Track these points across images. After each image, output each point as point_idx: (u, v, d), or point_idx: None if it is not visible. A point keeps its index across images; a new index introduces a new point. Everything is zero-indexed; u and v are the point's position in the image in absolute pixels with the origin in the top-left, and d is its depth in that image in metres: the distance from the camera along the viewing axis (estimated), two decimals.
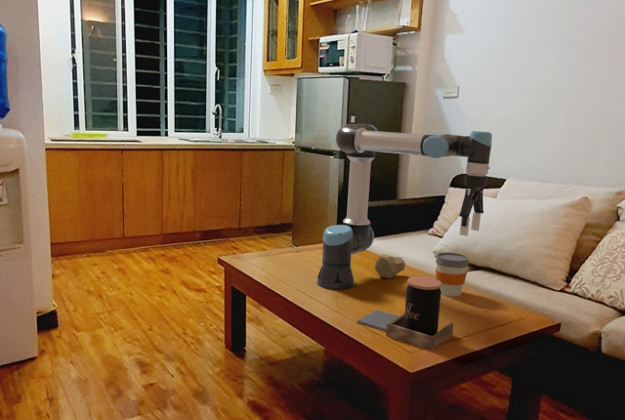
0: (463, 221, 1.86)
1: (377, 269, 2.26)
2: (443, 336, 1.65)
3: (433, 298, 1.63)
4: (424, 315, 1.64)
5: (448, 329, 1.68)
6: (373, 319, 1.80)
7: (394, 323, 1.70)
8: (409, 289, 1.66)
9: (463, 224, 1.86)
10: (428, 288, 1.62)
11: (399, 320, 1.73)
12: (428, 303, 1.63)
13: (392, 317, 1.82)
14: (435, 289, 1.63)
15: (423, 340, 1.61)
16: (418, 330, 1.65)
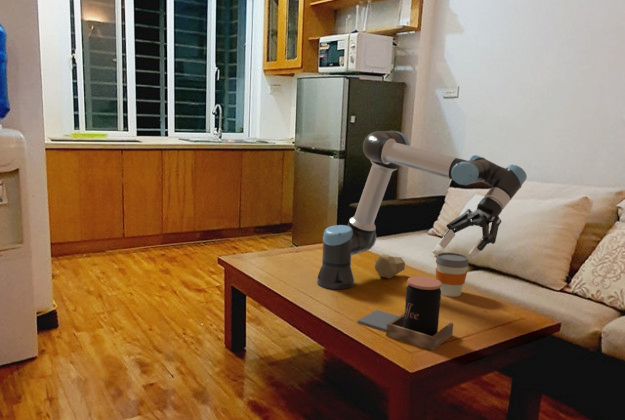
0: (483, 245, 1.68)
1: (377, 269, 2.26)
2: (443, 336, 1.65)
3: (433, 298, 1.63)
4: (424, 315, 1.64)
5: (448, 329, 1.68)
6: (373, 319, 1.80)
7: (394, 323, 1.70)
8: (409, 289, 1.66)
9: (481, 247, 1.68)
10: (428, 288, 1.62)
11: (399, 320, 1.73)
12: (428, 303, 1.63)
13: (392, 317, 1.82)
14: (435, 289, 1.63)
15: (423, 340, 1.61)
16: (418, 330, 1.65)
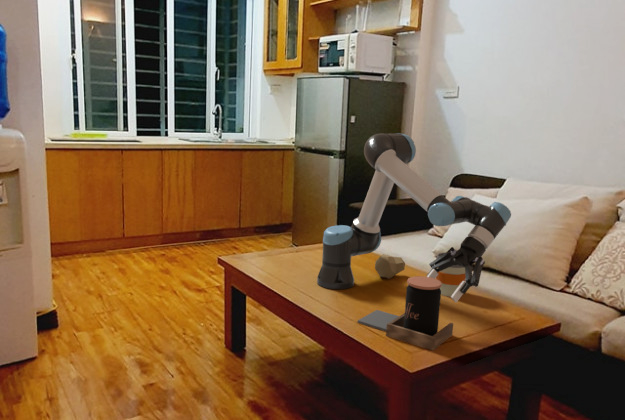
0: (466, 288, 1.63)
1: (377, 269, 2.26)
2: (443, 336, 1.65)
3: (433, 298, 1.63)
4: (424, 315, 1.64)
5: (448, 329, 1.68)
6: (373, 319, 1.80)
7: (394, 323, 1.70)
8: (409, 289, 1.66)
9: (464, 291, 1.63)
10: (428, 288, 1.62)
11: (399, 320, 1.73)
12: (428, 303, 1.63)
13: (392, 317, 1.82)
14: (435, 289, 1.63)
15: (423, 340, 1.61)
16: (418, 330, 1.65)
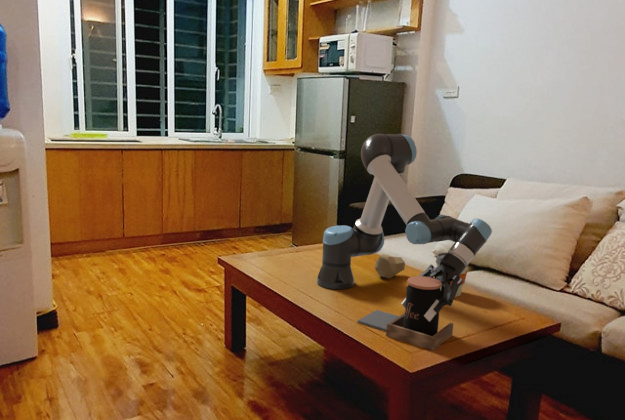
0: (440, 307, 1.62)
1: (377, 269, 2.26)
2: (443, 336, 1.65)
3: (433, 298, 1.63)
4: None
5: (448, 329, 1.68)
6: (373, 319, 1.80)
7: (394, 323, 1.70)
8: (409, 289, 1.66)
9: (438, 310, 1.62)
10: (428, 288, 1.62)
11: (399, 320, 1.73)
12: (428, 303, 1.63)
13: (392, 317, 1.82)
14: (435, 289, 1.63)
15: (423, 340, 1.61)
16: (418, 330, 1.65)
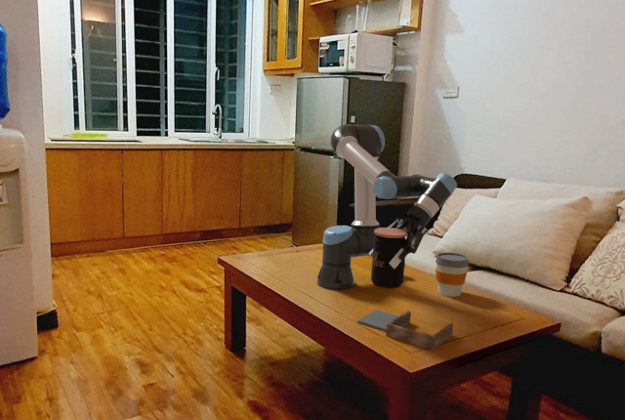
0: (404, 255, 1.69)
1: None
2: (443, 336, 1.65)
3: (398, 246, 1.70)
4: None
5: (448, 329, 1.68)
6: (373, 319, 1.80)
7: (394, 323, 1.70)
8: (375, 238, 1.73)
9: (402, 257, 1.69)
10: (393, 236, 1.69)
11: (399, 320, 1.73)
12: (393, 251, 1.70)
13: (392, 317, 1.82)
14: (400, 238, 1.70)
15: (423, 340, 1.61)
16: (384, 277, 1.72)
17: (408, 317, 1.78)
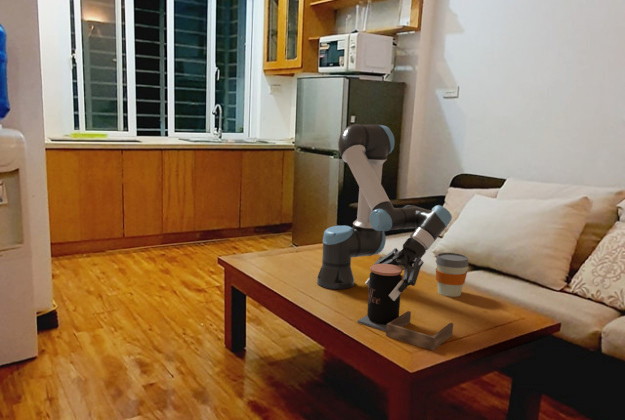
0: (404, 287, 1.71)
1: None
2: (443, 336, 1.65)
3: (393, 284, 1.73)
4: (385, 299, 1.73)
5: (448, 329, 1.68)
6: None
7: (394, 323, 1.70)
8: (371, 275, 1.76)
9: (402, 289, 1.71)
10: (388, 274, 1.72)
11: (399, 320, 1.73)
12: (389, 288, 1.73)
13: None
14: (395, 275, 1.73)
15: (423, 340, 1.61)
16: (379, 314, 1.75)
17: (408, 317, 1.78)
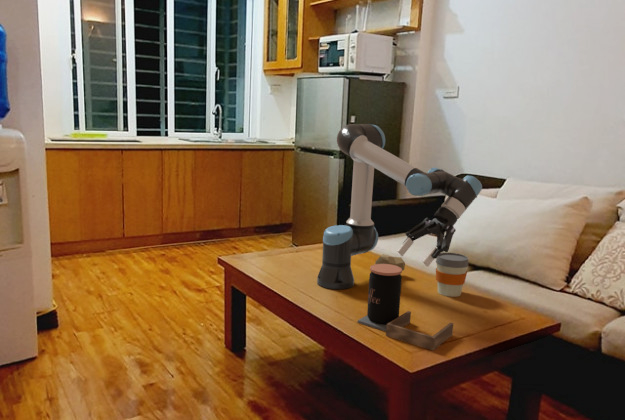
0: (437, 253, 1.75)
1: None
2: (443, 336, 1.65)
3: (393, 284, 1.73)
4: (385, 299, 1.73)
5: (448, 329, 1.68)
6: None
7: (394, 323, 1.70)
8: (371, 275, 1.76)
9: (435, 255, 1.75)
10: (388, 274, 1.72)
11: (399, 320, 1.73)
12: (389, 288, 1.73)
13: None
14: (395, 275, 1.73)
15: (423, 340, 1.61)
16: (380, 314, 1.75)
17: (408, 317, 1.78)
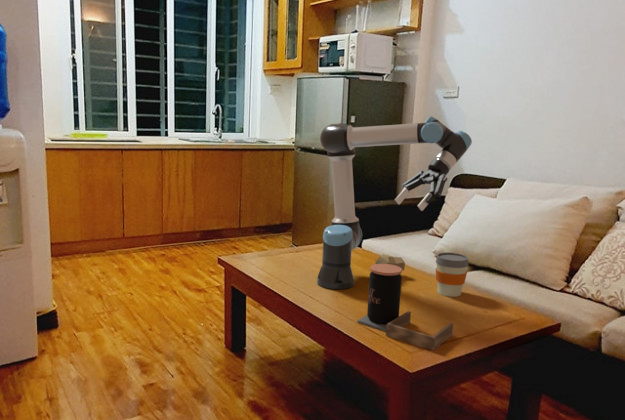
0: (430, 198, 1.94)
1: None
2: (443, 336, 1.65)
3: (393, 284, 1.73)
4: (385, 299, 1.73)
5: (448, 329, 1.68)
6: None
7: (394, 323, 1.70)
8: (371, 275, 1.76)
9: (429, 200, 1.94)
10: (388, 274, 1.72)
11: (399, 320, 1.73)
12: (389, 288, 1.73)
13: None
14: (395, 275, 1.73)
15: (423, 340, 1.61)
16: (380, 314, 1.75)
17: (408, 317, 1.78)
